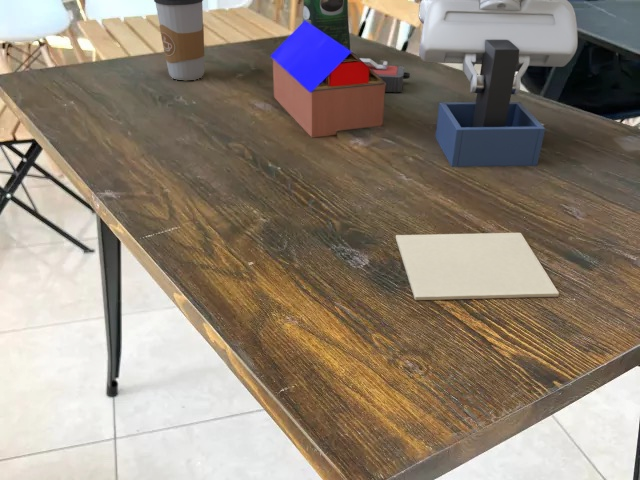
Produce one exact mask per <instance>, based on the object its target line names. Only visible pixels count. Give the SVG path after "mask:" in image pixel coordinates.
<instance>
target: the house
mask: <svg viewBox="0 0 640 480" xmlns="http://www.w3.org/2000/svg"><path fill="white" fill-rule="evenodd" d="M270 57H271V60H272V77H273V98H274V99H275V100H276V101H277V102H278V103H279V104H280V106H281V107H282V108H283V109H284V111H286V112H287V113H288V114H289V115H290V116H291V117H292V118H293V120H294V121H296V123H297V124H298V125H299V126H300V127H301V128H302V129H303V130H304V131H305V132H306V134H308V136H310V138H320V137H329V136H337V135H338V132H339V131H349V130H357V129H364V128H373V127H382V126H383V125H384V124H383V123H384V111H385V98H386V97H385V94H386V92H385V85H386V82H385V81H384V80H383V79H381V78H380V77H379V76H378V75H377V74H376V73H375V72H374V71H373V70H371V69H370V68H369V67H368V66H367V65H368V64H367V63H364V62H363V61H361V60H360V59H359V57H358V56H357V55H356V54H355V53H354V52H353V51H351V49H350V50H348V49H347V48H345V47H344V46H342V45H341V44H339V43H338V42H336V41H335V40H333V39H332V38H330V37H329V36H327V35H326V34H324V33H323V32H321V31H320V30H318V29H317V28H315V27H314V26H312V25H311V24H309V23H308V22H307V21H304V22H303V21H302V23H300V24H299V26H298V27H297V28H296V29H295V30H294V31H293V32H292V33H291V34H290V35H289V36H288V37H287V38H286V39H285V40H284V41H283V42H282V43H281V44H280V45H279V46H278V48H276V49H275V51H273V52H272V54H271V55H270Z"/></svg>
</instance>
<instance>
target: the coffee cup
mask: <svg viewBox="0 0 640 480" xmlns="http://www.w3.org/2000/svg"><path fill="white" fill-rule="evenodd" d="M203 1H204V0H153V2H154V3H155V7H156V8H155V9H156V14H157V18H158V23H159V25H158V26H159V31H160V37H161V42H162V48H163V52H164V58H165V61H166V66H167V71H168V75H169V76H170V78H171V77H172V78H174V79H179V80H194V81H196V80H195V79H198V80H200V79H199V78H201V77H202V76H203V77H204V74H205V37H204V36H205V31H204V30H205V29H204V13H203ZM203 77H202V78H203ZM172 78H171V79H172ZM202 78H201V79H202Z"/></svg>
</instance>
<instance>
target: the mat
mask: <svg viewBox="0 0 640 480" xmlns="http://www.w3.org/2000/svg"><path fill="white" fill-rule="evenodd" d="M395 240H396V244H397V248H398V250H399V254H400V257H401V260H402V264H403V266H404V270H405V274H406V275H407V276H406V277H407V279H408V284H409V286H410V289H411V292H412V295H413V299H414V301H440V300H441V301H442V300H443V301H445V300H479V299H483V300H484V299H514V298H515V299H517V298H519V299H521V298H522V299H523V298H555V297H556V298H557V297H559V296H560V292H559V290H558V289H557V288H556V286H555V285H554V283H553V282H552V280H551V278H550V277H549V275H548V274H547V272H546V270H545V269H544V267H543V265H542V264H541V263H540V261H539V259H538V258H537V256H536V254H535V253H534V251H533V250H532V247H530V244H529V243H528V242H527V240H526V239H525V237H524V236H523V234H522V233H521V232H488V233H486V232H484V233H482V232H481V233H441V234H440V233H439V234H437V233H435V234H434V233H433V234H431V233H430V234H396V235H395Z"/></svg>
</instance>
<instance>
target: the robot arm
mask: <svg viewBox="0 0 640 480" xmlns="http://www.w3.org/2000/svg"><path fill="white" fill-rule="evenodd" d="M418 18H419V21H420V22H421V23H422V29H421V35H420V41H419V49H418V56H419V58H420V59H421V60H422V62H424V63H428V64H459V65H462V72H464V75H465V76H466V78H467V79H468V81H469V82H470V90H469V91H470V94H477V93H482V91H483V89H484V75H480V74H479V73H478V71H477V69H476V67H475V65H482V58H483V53H485V40H509V41H510V42H512V43H513V44H514V45H515V46H516V47H517V48H518V49H519V55H518V60H517V66H516V71H515V76H514V82H513V87H512V93H511V95H519V92H520V90H521V79H522V78H523V76H524V75H525V74H526V72H527V70H528V67H555V68H556V67H557V68H562V67H563V68H564V67H565V66H567V65H568V63H569V62H570V61H571V60H572V59H573V58H574V56H575V54H576V52H577V49H578V42H579V41H578V39H579V38H578V25H577V17H576V12H575V9H574V6H573V4H572V3H571V2H570V1H568V0H421V1H420V2H419V5H418ZM516 72H517V73H516Z"/></svg>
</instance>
